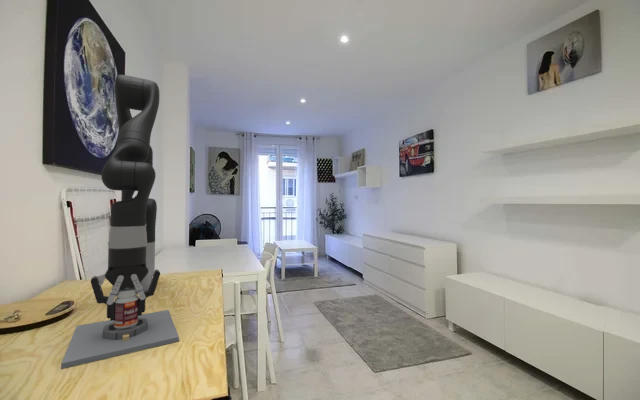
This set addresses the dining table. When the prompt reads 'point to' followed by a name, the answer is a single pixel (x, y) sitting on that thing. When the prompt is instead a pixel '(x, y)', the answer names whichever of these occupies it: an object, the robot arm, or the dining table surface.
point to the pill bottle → (126, 308)
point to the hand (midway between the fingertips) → (126, 316)
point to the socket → (119, 338)
